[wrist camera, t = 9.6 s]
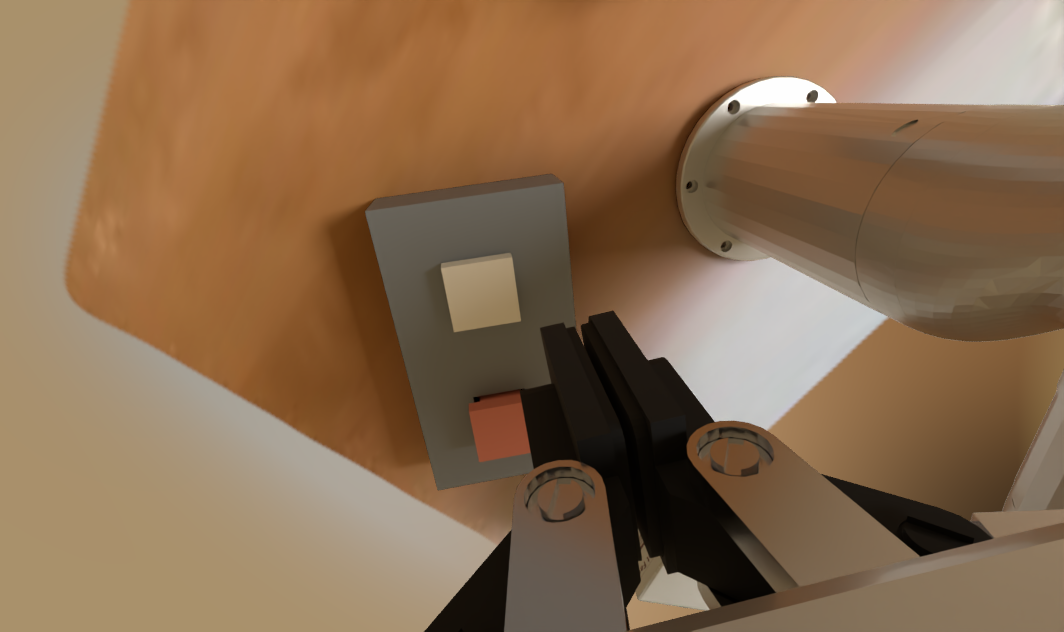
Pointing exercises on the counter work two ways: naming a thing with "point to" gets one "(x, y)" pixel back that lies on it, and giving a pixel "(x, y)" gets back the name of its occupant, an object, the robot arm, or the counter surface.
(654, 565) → the supplement box
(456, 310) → the ivory plug
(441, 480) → the plug panel
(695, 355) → the counter surface
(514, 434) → the red plug
